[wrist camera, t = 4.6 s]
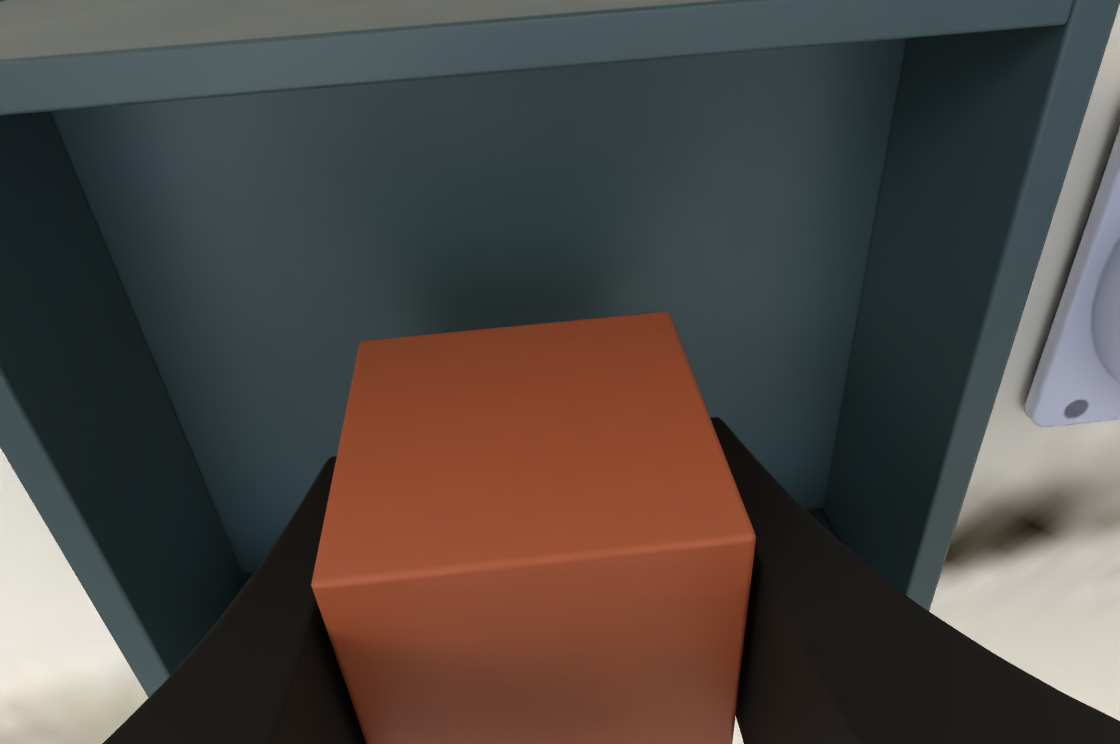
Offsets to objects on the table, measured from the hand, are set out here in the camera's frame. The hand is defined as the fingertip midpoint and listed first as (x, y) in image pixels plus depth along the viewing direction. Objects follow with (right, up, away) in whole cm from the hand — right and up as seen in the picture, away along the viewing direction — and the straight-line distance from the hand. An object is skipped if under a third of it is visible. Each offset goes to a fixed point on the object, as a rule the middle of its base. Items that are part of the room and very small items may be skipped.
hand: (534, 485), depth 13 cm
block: (0, +1, +1) cm, 1 cm away
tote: (-1, +3, +4) cm, 5 cm away
